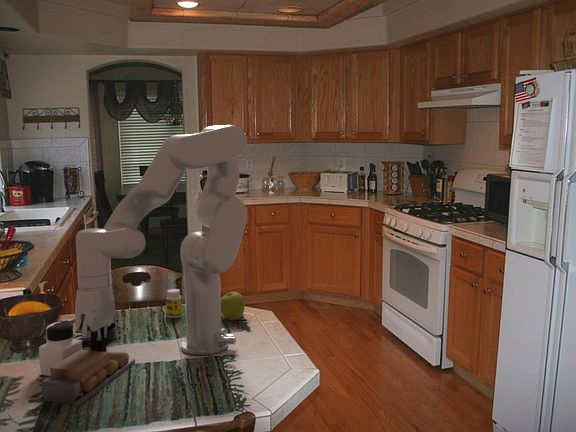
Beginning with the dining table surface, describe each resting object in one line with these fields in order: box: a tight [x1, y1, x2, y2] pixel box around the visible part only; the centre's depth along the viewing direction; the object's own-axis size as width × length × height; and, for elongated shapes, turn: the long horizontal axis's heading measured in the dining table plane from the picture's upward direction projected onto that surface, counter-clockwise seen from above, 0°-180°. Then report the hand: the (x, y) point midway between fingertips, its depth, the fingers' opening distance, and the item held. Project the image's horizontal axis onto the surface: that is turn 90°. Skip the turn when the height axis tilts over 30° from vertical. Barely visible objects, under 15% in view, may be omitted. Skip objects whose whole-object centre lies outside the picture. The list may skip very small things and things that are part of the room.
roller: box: [80, 376, 98, 393], centre depth 127 cm, size 8×4×4 cm, turn 77°
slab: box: [50, 349, 110, 382], centre depth 128 cm, size 8×11×2 cm
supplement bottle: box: [165, 288, 183, 319], centre depth 178 cm, size 5×5×8 cm
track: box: [37, 350, 136, 407], centre depth 131 cm, size 10×24×4 cm, turn 166°
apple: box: [221, 289, 246, 321], centre depth 176 cm, size 8×8×10 cm
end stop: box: [41, 376, 81, 406], centre depth 121 cm, size 8×2×4 cm, turn 76°
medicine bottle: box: [38, 321, 83, 377], centre depth 136 cm, size 7×7×12 cm
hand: (98, 354), depth 135 cm, fingers closed
